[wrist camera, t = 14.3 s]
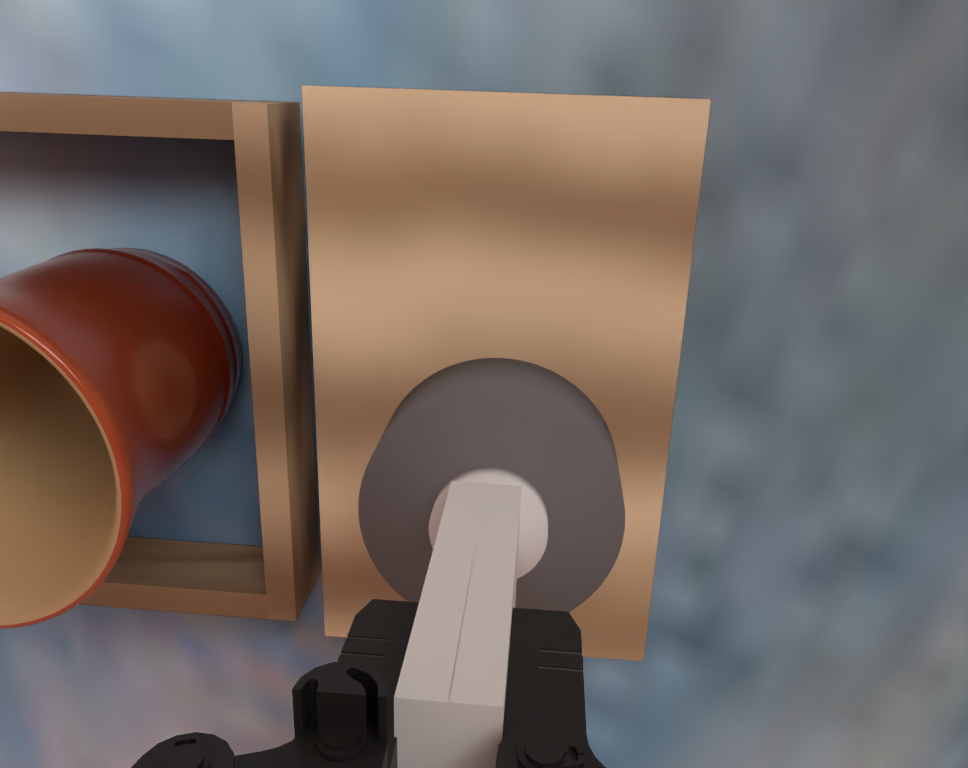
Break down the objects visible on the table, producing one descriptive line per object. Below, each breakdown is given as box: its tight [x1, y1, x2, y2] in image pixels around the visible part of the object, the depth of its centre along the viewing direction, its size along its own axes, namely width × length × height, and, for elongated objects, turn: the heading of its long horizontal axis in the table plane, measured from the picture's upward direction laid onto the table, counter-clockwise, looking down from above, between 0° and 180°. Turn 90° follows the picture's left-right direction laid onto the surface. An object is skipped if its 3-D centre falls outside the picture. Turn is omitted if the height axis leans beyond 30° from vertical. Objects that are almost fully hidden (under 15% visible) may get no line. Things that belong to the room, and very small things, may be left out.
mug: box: [0, 248, 241, 629], centre depth 24 cm, size 12×9×10 cm
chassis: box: [0, 86, 711, 661], centre depth 25 cm, size 18×22×6 cm
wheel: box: [358, 358, 625, 612], centre depth 19 cm, size 6×6×3 cm
